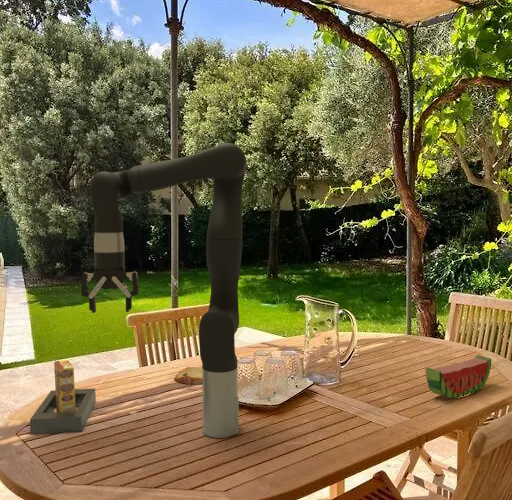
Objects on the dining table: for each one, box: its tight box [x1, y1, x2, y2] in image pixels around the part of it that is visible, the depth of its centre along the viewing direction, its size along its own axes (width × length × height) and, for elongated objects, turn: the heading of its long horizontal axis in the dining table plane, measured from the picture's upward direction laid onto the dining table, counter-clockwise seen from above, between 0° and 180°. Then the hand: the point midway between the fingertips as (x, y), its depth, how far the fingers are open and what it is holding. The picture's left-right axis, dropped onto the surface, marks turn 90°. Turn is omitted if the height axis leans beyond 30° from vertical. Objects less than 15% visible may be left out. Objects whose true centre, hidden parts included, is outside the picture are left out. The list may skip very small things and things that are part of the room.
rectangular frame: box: [29, 388, 97, 435], centre depth 149 cm, size 13×22×4 cm, turn 8°
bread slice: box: [173, 366, 203, 386], centre depth 182 cm, size 18×18×4 cm
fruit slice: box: [425, 355, 492, 399], centre depth 165 cm, size 26×6×10 cm, turn 123°
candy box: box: [53, 359, 77, 412], centre depth 148 cm, size 9×4×15 cm, turn 30°
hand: (111, 311), depth 136 cm, fingers open, 8 cm apart
